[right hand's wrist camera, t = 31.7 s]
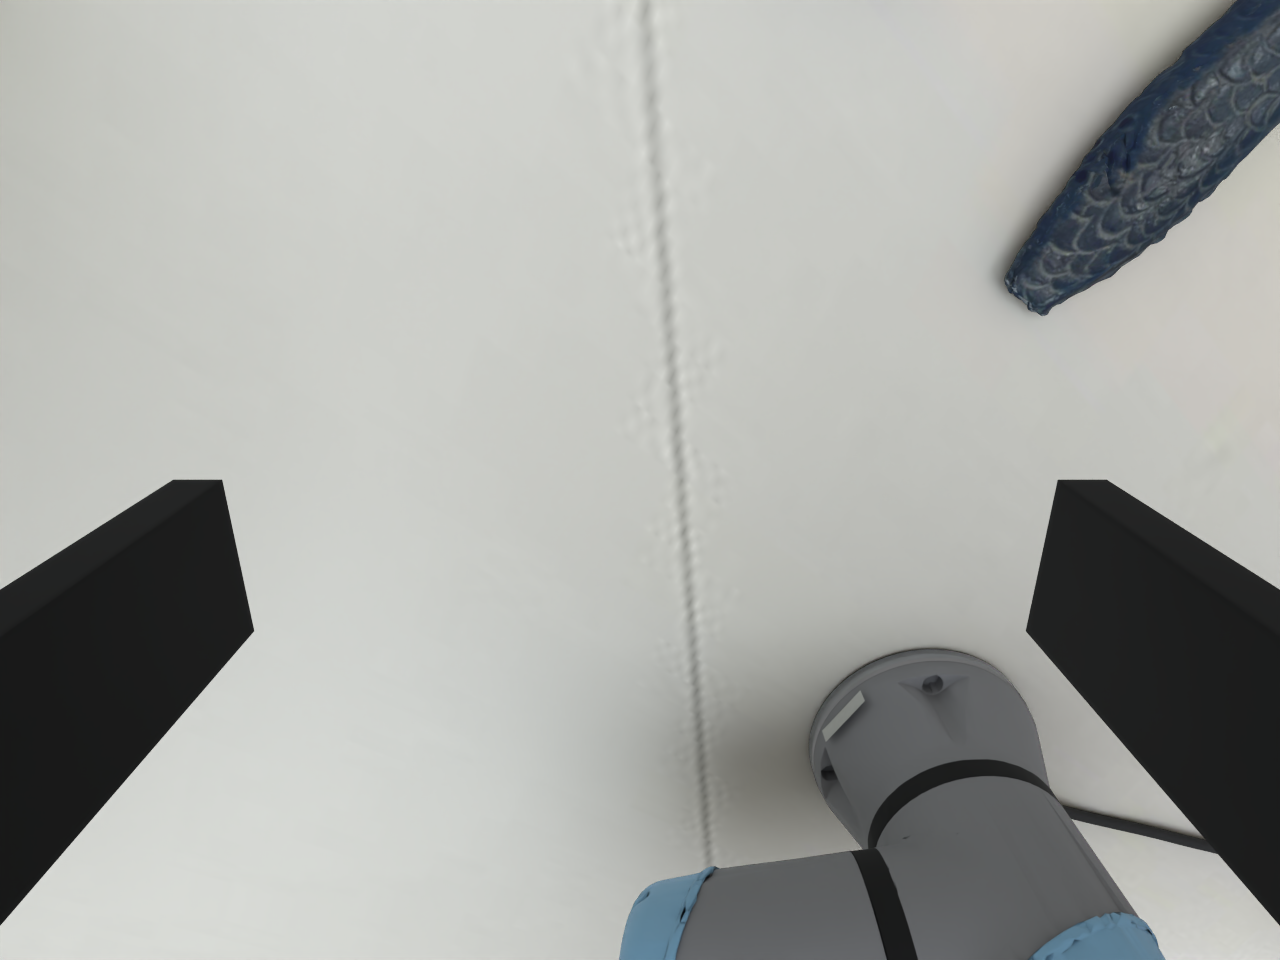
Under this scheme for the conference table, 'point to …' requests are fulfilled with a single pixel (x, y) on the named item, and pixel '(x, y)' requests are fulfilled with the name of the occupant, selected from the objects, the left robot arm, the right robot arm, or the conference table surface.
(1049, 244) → the fish model
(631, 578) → the conference table surface
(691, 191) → the conference table surface
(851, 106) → the conference table surface
